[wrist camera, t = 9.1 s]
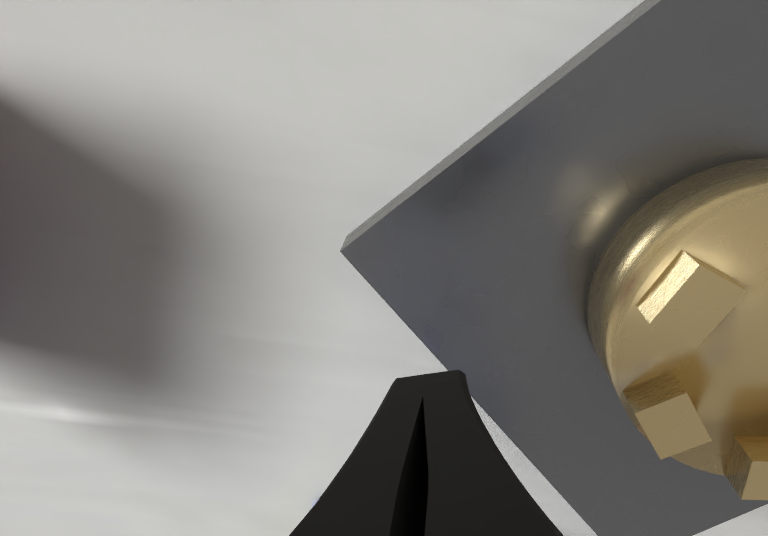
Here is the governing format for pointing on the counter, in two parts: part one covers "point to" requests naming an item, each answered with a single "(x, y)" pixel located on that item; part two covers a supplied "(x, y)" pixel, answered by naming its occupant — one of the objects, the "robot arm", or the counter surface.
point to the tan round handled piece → (693, 322)
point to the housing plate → (574, 247)
